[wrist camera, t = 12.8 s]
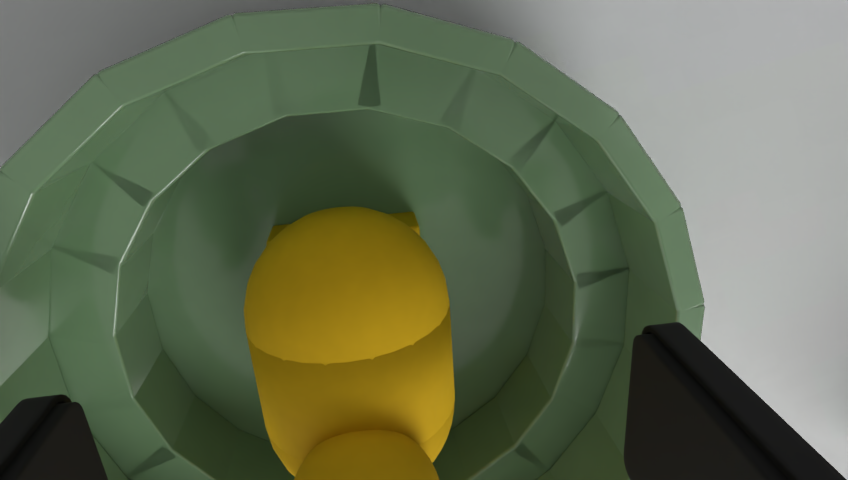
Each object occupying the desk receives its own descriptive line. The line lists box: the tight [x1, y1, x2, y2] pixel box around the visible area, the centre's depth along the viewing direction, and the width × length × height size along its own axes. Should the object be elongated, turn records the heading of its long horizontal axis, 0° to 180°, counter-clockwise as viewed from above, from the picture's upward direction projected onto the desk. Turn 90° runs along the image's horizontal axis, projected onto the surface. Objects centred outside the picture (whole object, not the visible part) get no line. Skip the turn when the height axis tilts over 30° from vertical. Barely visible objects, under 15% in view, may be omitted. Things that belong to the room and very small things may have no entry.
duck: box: [244, 206, 455, 480], centre depth 12 cm, size 8×4×7 cm, turn 4°
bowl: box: [0, 3, 705, 480], centre depth 13 cm, size 14×14×5 cm
